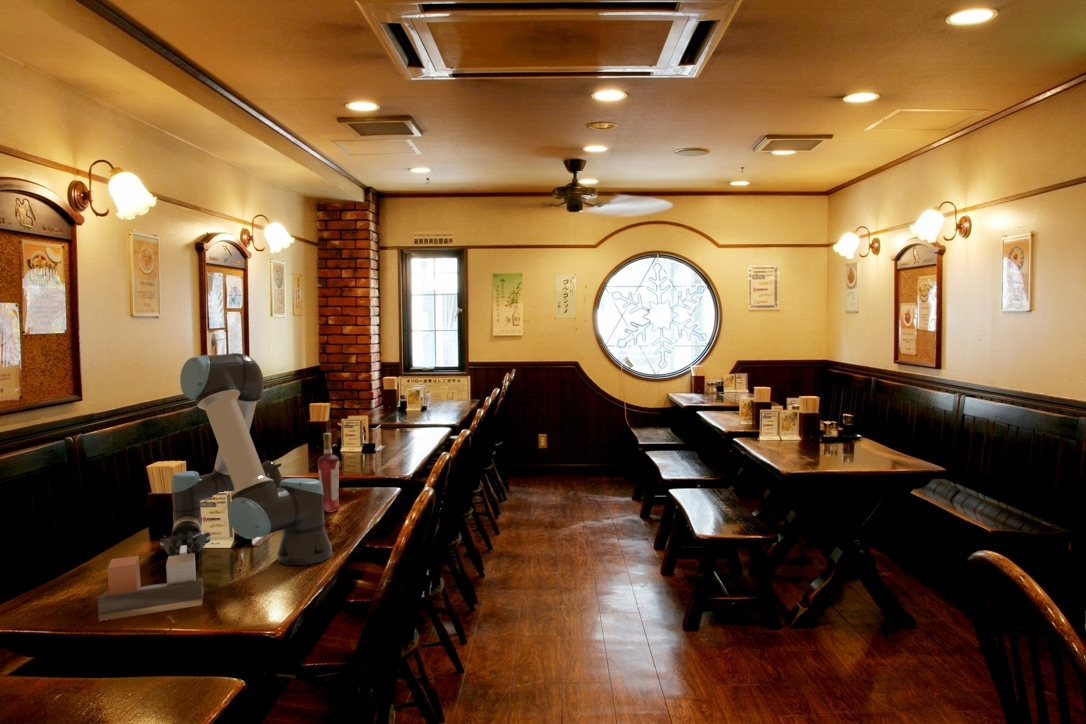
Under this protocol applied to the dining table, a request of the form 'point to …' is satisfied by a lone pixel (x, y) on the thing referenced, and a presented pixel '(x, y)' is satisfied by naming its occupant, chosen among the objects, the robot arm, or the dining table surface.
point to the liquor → (329, 475)
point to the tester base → (150, 600)
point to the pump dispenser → (272, 472)
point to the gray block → (181, 569)
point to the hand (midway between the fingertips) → (183, 557)
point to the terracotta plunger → (124, 575)
